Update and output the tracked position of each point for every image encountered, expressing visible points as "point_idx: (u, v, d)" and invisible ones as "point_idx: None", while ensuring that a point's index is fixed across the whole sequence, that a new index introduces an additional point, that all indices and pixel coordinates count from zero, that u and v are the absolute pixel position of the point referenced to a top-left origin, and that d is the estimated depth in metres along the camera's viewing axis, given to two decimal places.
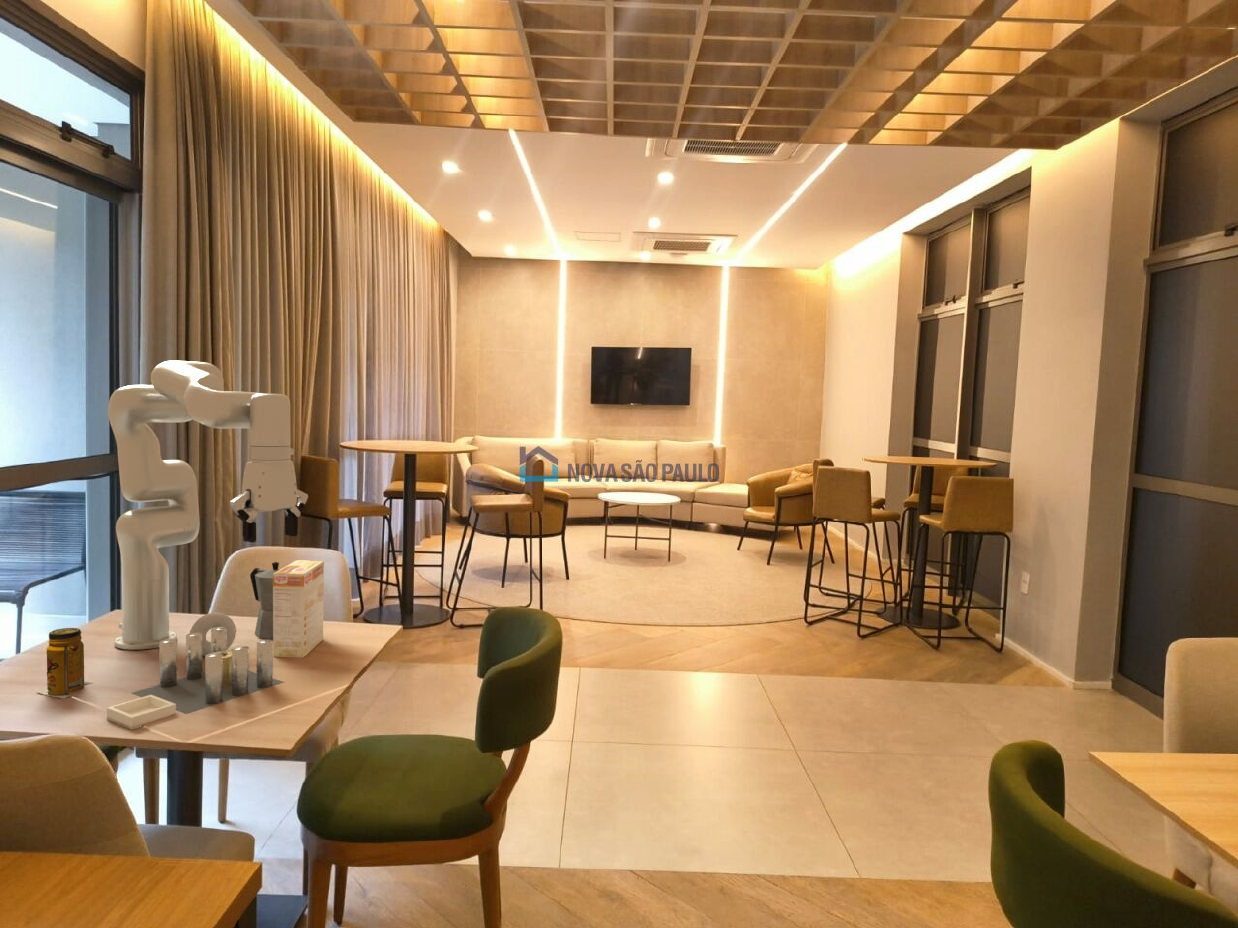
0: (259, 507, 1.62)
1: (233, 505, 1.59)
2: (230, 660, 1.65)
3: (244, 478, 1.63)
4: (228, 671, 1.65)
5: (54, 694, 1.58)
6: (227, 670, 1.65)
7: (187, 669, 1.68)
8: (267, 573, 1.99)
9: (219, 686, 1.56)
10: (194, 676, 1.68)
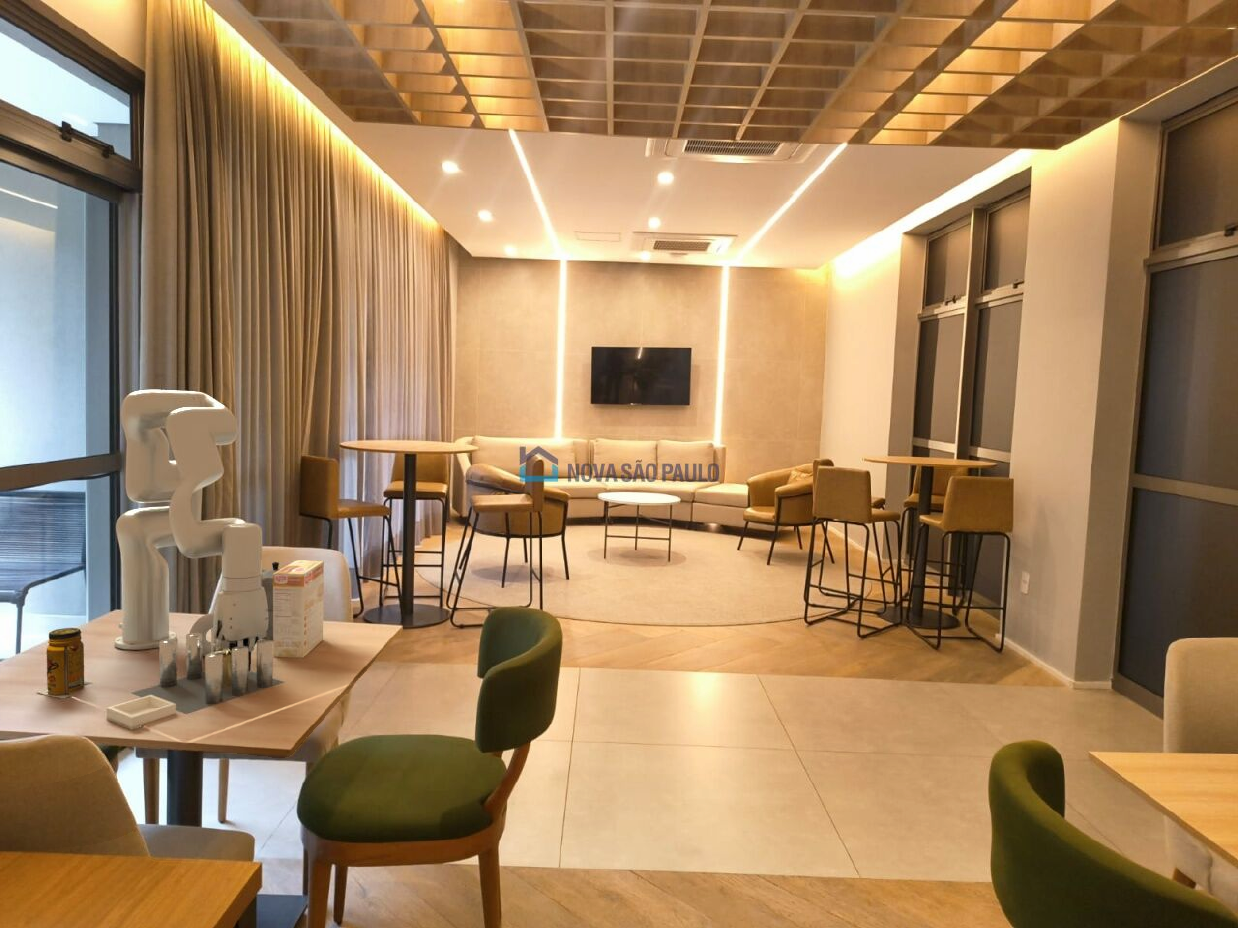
0: (230, 638, 1.65)
1: None
2: (229, 660, 1.65)
3: (216, 609, 1.66)
4: (228, 671, 1.65)
5: (54, 694, 1.58)
6: (226, 670, 1.65)
7: (187, 669, 1.68)
8: (267, 573, 1.99)
9: (219, 686, 1.56)
10: (194, 676, 1.68)
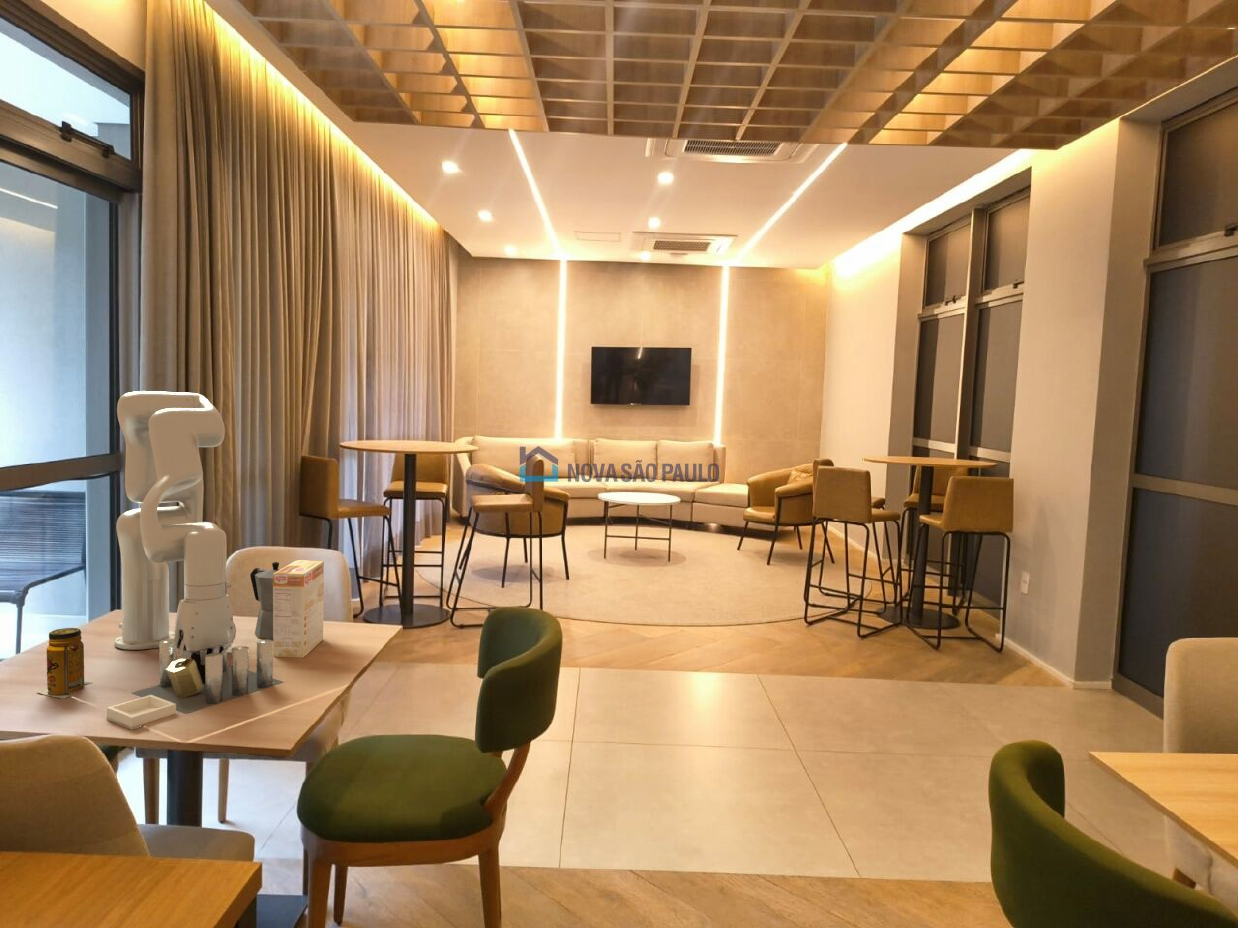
0: (192, 648, 1.58)
1: (183, 658, 1.59)
2: (191, 668, 1.58)
3: (177, 617, 1.59)
4: (193, 679, 1.58)
5: (54, 694, 1.58)
6: (191, 679, 1.58)
7: None
8: (267, 573, 1.99)
9: (219, 686, 1.56)
10: None
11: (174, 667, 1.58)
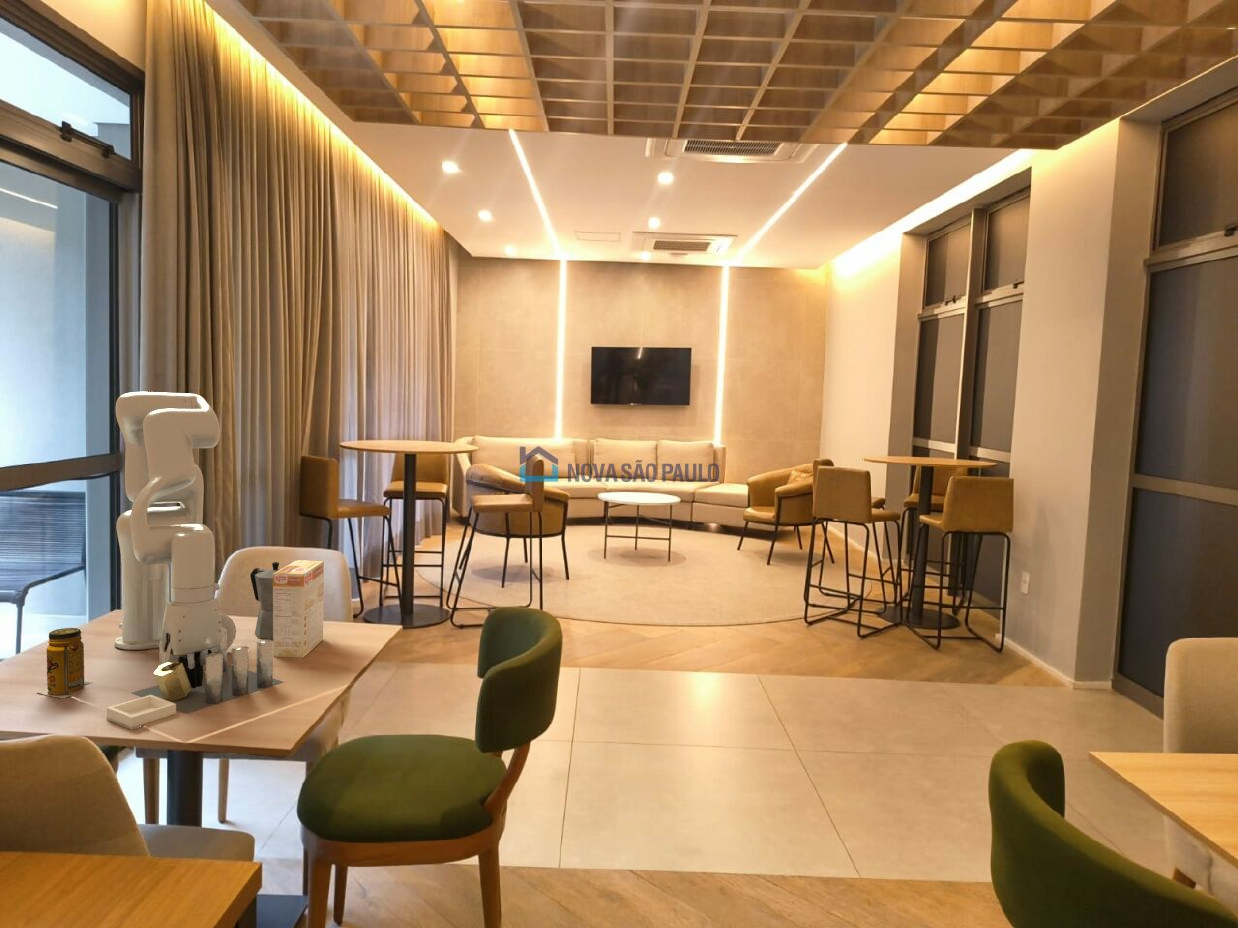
0: (179, 652, 1.56)
1: None
2: (178, 672, 1.56)
3: (164, 621, 1.57)
4: (180, 683, 1.56)
5: (54, 694, 1.58)
6: (178, 682, 1.56)
7: None
8: (267, 573, 1.99)
9: (219, 686, 1.56)
10: None
11: (162, 670, 1.55)
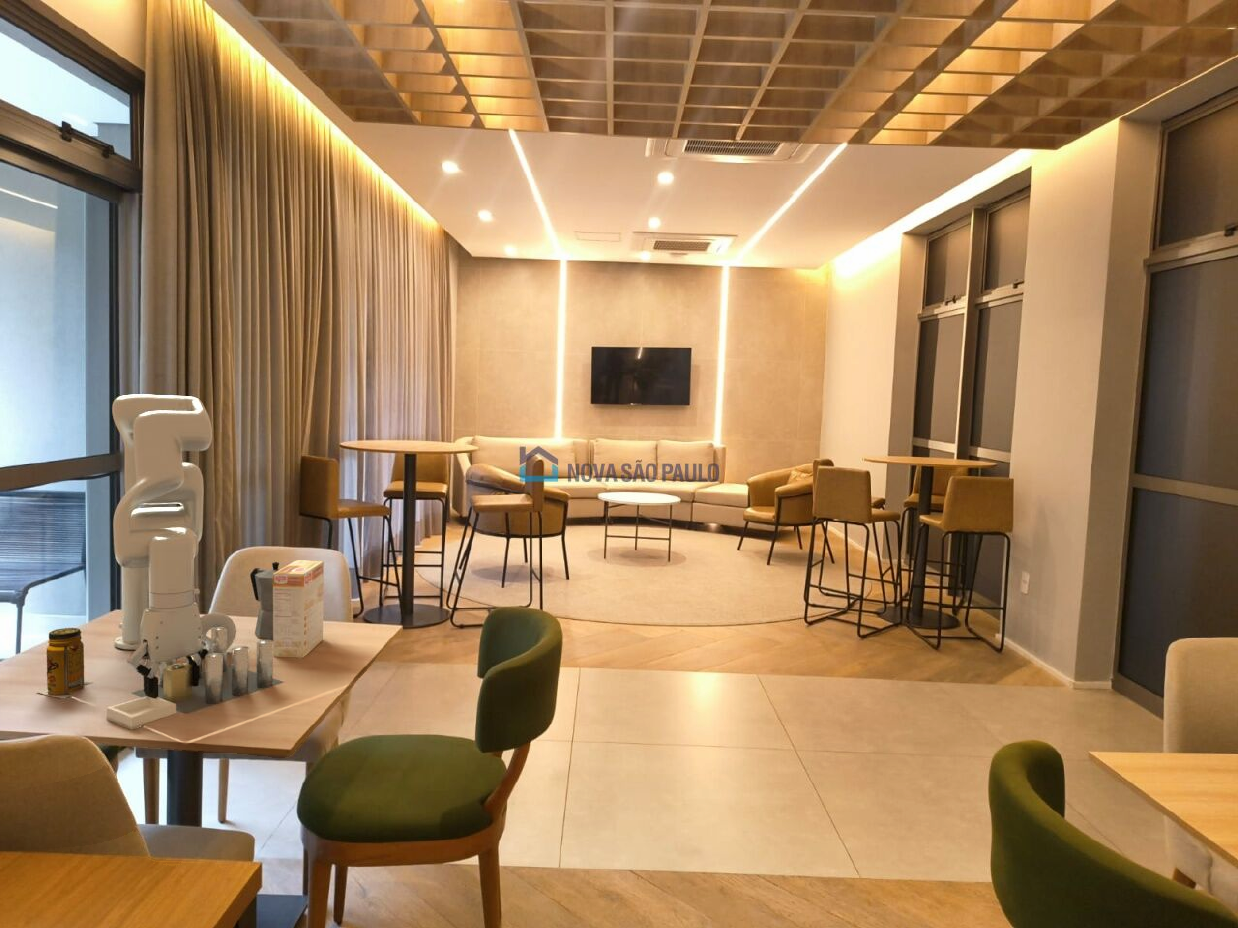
0: (156, 659, 1.52)
1: (130, 663, 1.50)
2: (187, 672, 1.57)
3: (141, 627, 1.53)
4: (185, 684, 1.57)
5: (54, 694, 1.58)
6: (184, 683, 1.57)
7: None
8: (267, 573, 1.99)
9: (219, 686, 1.56)
10: None
11: (172, 667, 1.57)
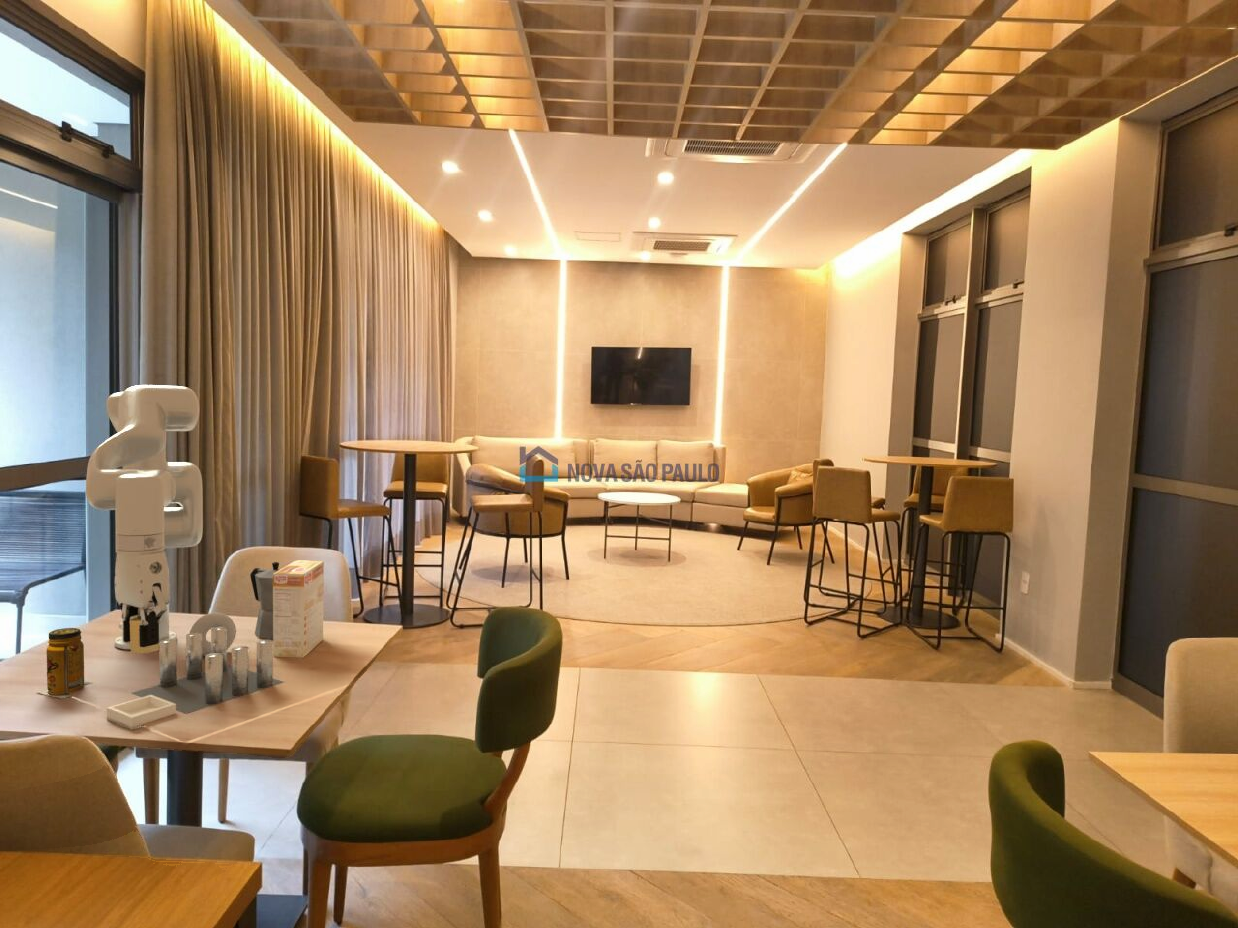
0: (116, 597, 1.48)
1: None
2: (133, 625, 1.46)
3: None
4: (130, 636, 1.46)
5: (54, 694, 1.58)
6: (130, 634, 1.46)
7: (187, 669, 1.68)
8: (267, 573, 1.99)
9: (219, 686, 1.56)
10: (194, 676, 1.68)
11: None
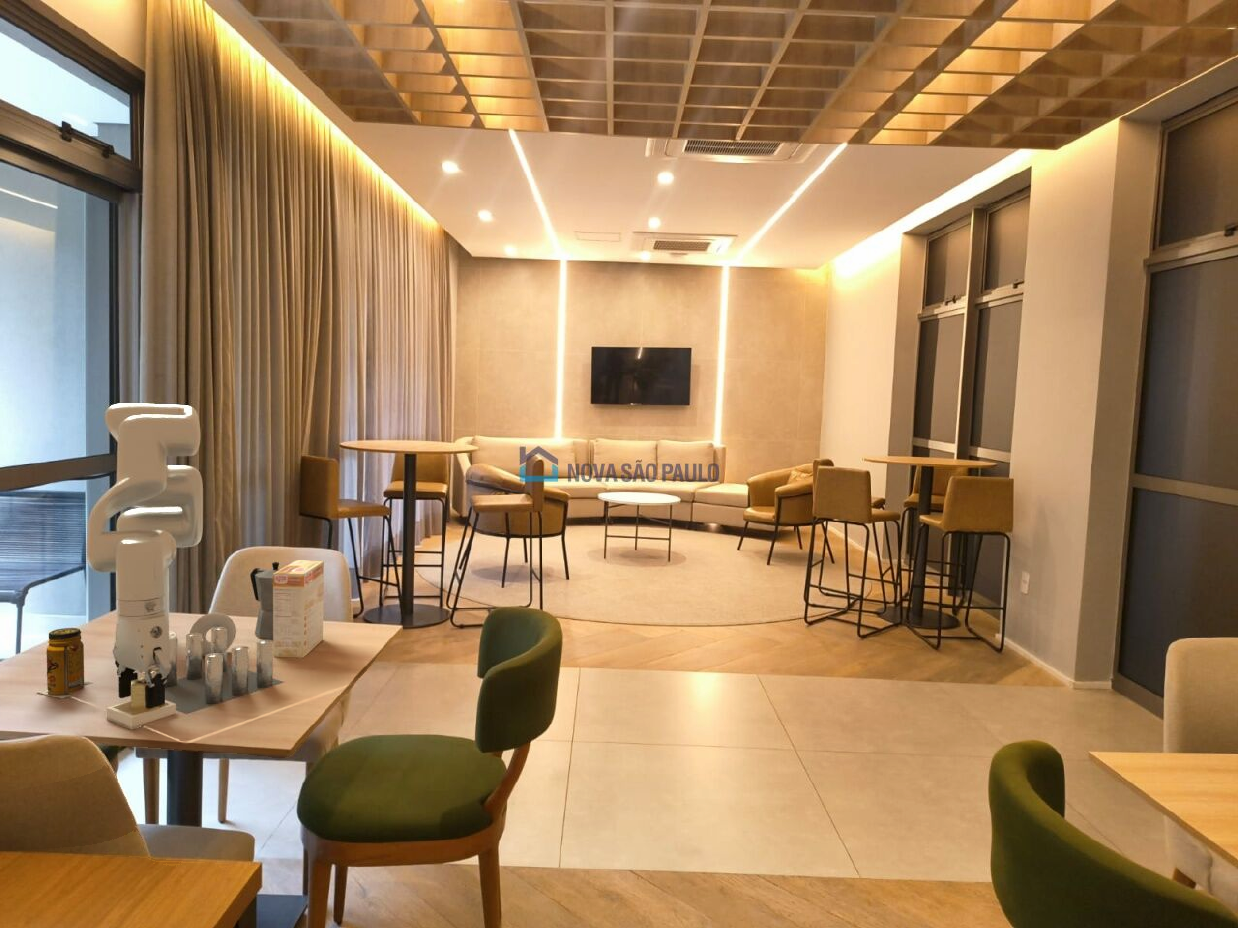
0: (117, 659, 1.49)
1: None
2: (134, 690, 1.47)
3: None
4: (131, 701, 1.47)
5: (54, 694, 1.58)
6: (131, 699, 1.48)
7: (187, 669, 1.68)
8: (267, 573, 1.99)
9: (219, 686, 1.56)
10: (194, 676, 1.68)
11: (143, 679, 1.50)
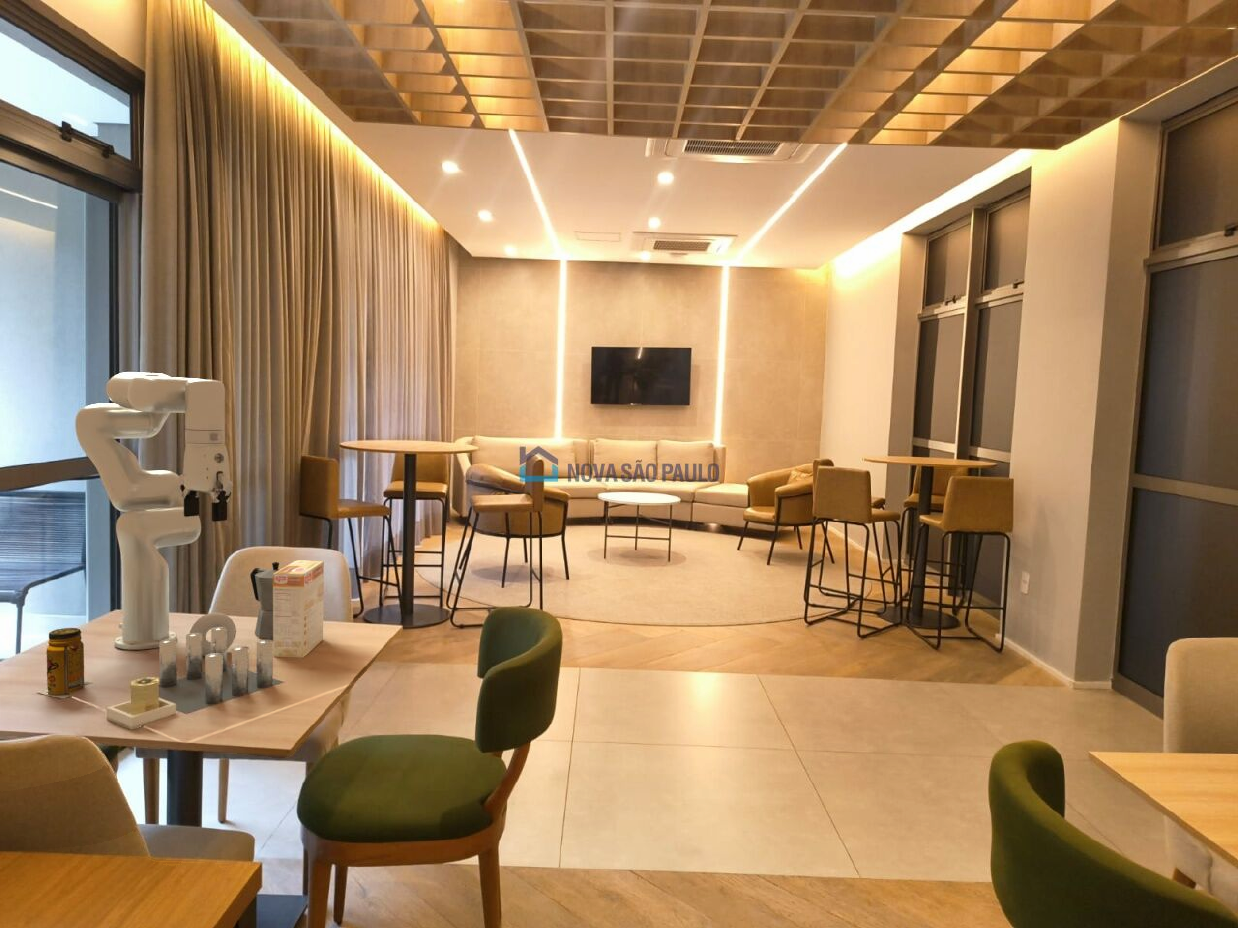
0: (184, 485, 1.74)
1: None
2: (134, 690, 1.47)
3: None
4: (131, 701, 1.47)
5: (54, 694, 1.58)
6: (131, 699, 1.48)
7: (187, 669, 1.68)
8: (267, 573, 1.99)
9: (219, 686, 1.56)
10: (194, 676, 1.68)
11: (143, 679, 1.50)
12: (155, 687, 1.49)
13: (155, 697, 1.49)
